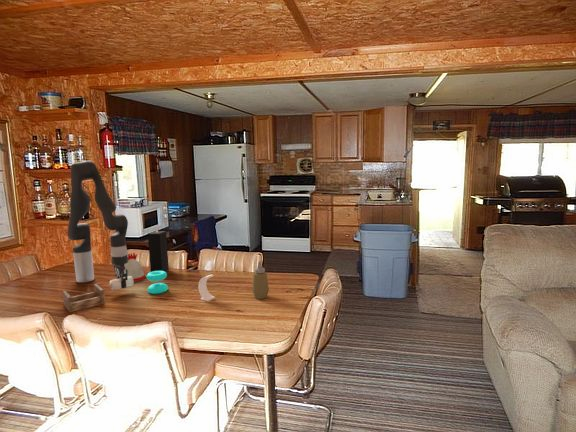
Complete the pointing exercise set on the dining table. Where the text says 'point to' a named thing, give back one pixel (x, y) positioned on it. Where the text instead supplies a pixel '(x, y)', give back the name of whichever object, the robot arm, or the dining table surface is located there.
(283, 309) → the dining table surface
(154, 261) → the black rectangular block
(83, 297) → the roll cradle
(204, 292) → the white curved piece
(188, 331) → the dining table surface
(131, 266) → the beanie hat
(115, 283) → the paper roll
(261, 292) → the squeeze bottle
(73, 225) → the robot arm
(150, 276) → the teal stacked discs
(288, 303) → the dining table surface
